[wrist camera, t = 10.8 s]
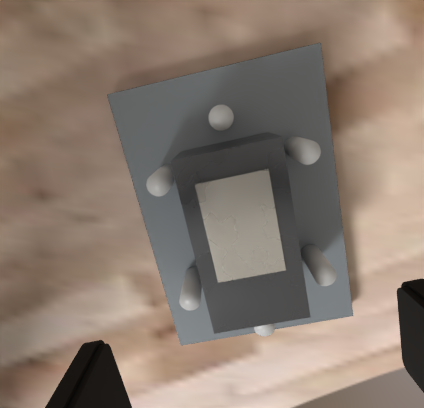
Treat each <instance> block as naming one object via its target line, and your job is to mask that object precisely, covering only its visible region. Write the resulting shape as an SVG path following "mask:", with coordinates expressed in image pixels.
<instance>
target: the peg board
mask: <svg viewBox="0 0 424 408" xmlns="http://www.w3.org/2000/svg"><path fill="white" fill-rule="evenodd" d="M107 96H108V100H109V103H110V106H111V110H112V113H113V117H114V120H115V123H116V127H117V130H118V134H119V137H120V140H121V144H122V147H123V151H124V154H125V157H126V161H127V164H128V168H129V171H130V174H131V178H132V181H133V185H134V188H135V191H136V195H137V198H138V202H139V205H140V208H141V212H142V215H143V219H144V222H145V225H146V229H147V232H148V236H149V239H150V242H151V246H152V249H153V253H154V256H155V259H156V263H157V266H158V270H159V273H160V276H161V280H162V283H163V287H164V290H165V293H166V297H167V300H168V304H169V307H170V310H171V314H172V317H173V321H174V324H175V327H176V331H177V334H178V338H179V341H180V344H181V345H187V344H193V343H199V342H204V341H210V340H216V339H222V338H227V337H233V336H239V335H245V334H251V333H257V334H258V335H260V336H268V335H270V334H272V333H273V332H274V330H275V329H280V328H285V327H291V326H297V325H303V324H309V323H314V322H320V321H326V320H332V319H338V318H343V317H349V316H353V310H352V302H351V293H350V285H349V277H348V268H347V260H346V251H345V243H344V235H343V226H342V218H341V209H340V201H339V193H338V184H337V176H336V168H335V159H334V151H333V142H332V134H331V126H330V117H329V109H328V100H327V92H326V84H325V75H324V67H323V58H322V50H321V43H317V44H313V45H309V46H305V47H300V48H296V49H292V50H288V51H284V52H280V53H276V54H272V55H268V56H264V57H259V58H255V59H251V60H247V61H243V62H239V63H235V64H231V65H227V66H222V67H218V68H214V69H210V70H206V71H202V72H198V73H194V74H190V75H186V76H181V77H177V78H173V79H169V80H165V81H161V82H157V83H153V84H149V85H144V86H140V87H136V88H132V89H128V90H124V91H120V92H116V93H112V94H108V95H107ZM266 132H270V133H273V134H276V135H279V136H282V137H283V143H284V150H285V156H286V163H287V169H288V175H289V182H290V188H291V195H292V201H293V207H294V214H295V220H296V227H297V233H298V239H299V246H300V252H301V259H302V265H303V271H304V278H305V284H306V291H307V297H308V303H309V310H310V316H311V317H309V318H303V319H298V320H292V321H286V322H280V323H274V324H268V325H263V326H257V327H251V328H245V329H239V330H233V331H227V332H222V333H216V334H214V331H213V327H212V323H211V319H210V315H209V311H208V308H207V304H206V300H205V296H204V292H203V288H202V284H201V280H200V276H199V272H198V268H197V264H196V260H195V256H194V252H193V248H192V244H191V241H190V237H189V233H188V229H187V225H186V221H185V217H184V213H183V209H182V205H181V201H180V197H179V193H178V189H177V185H176V181H175V177H174V174H173V170H172V166H171V162H170V161H171V160H172V159H173V158H174V157H175V156H176V155H178V154H179V153H180V152H181V151H184V150H189V149H193V148H198V147H202V146H207V145H211V144H216V143H220V142H225V141H230V140H234V139H239V138H243V137H248V136H252V135H257V134H261V133H266Z"/></svg>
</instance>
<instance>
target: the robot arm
mask: <svg viewBox="0 0 424 408" xmlns="http://www.w3.org/2000/svg"><path fill="white" fill-rule="evenodd" d="M397 299H398V312H399V324H400V336H401V348H402V359H403V363H404V366H405V368H406V370H407V372H408V373H409V374H410V376H411V377H412V378H413V380H414V381H415V382H416V383H417V385H418V386H419V387H420V388H421V390H422V391H423V392H424V279H417V280H412V281H407V282H403V283H402V285H401V288H398V289H397ZM45 408H132V406H131V403H130V401H129V398H128V395H127V392H126V389H125V387H124V384H123V381H122V378H121V375H120V373H119V370H118V367H117V364H116V361H115V359H114V356H113V353H112V350H111V347H110V345H109V344H105V343H104V342H103V341H102V340H99V341H93V342H88V343H84V344H83V345H82V346H81V348H80V349H79V351H78V353H77V355H76V356H75V358H74V360H73V361H72V363H71V365H70V366H69V368H68V370H67V371H66V373H65V375H64V377H63V378H62V380H61V382H60V383H59V385H58V387H57V388H56V390H55V392H54V394H53V395H52V397H51V399H50V400H49V402H48V404H47V405H46V407H45Z"/></svg>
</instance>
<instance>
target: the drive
mask: <svg viewBox="0 0 424 408" xmlns="http://www.w3.org/2000/svg"><path fill="white" fill-rule="evenodd" d="M170 162H171V166H172V170H173V174H174V177H175V181H176V185H177V189H178V193H179V197H180V201H181V205H182V209H183V213H184V217H185V221H186V225H187V229H188V233H189V237H190V241H191V244H192V248H193V252H194V256H195V260H196V264H197V268H198V272H199V276H200V280H201V284H202V288H203V292H204V296H205V300H206V304H207V308H208V311H209V315H210V319H211V323H212V327H213V331H214V334H216V333H222V332H227V331H233V330H239V329H245V328H251V327H257V326H263V325H268V324H274V323H280V322H286V321H292V320H298V319H303V318H309V317H311V316H310V310H309V303H308V297H307V291H306V284H305V278H304V271H303V265H302V259H301V252H300V246H299V239H298V233H297V227H296V220H295V214H294V207H293V201H292V195H291V188H290V182H289V175H288V169H287V163H286V156H285V150H284V143H283V137H282V136H279V135H276V134H273V133H270V132H266V133H261V134H257V135H252V136H248V137H243V138H239V139H234V140H230V141H225V142H220V143H216V144H211V145H207V146H202V147H198V148H193V149H189V150H184V151H181V152H180V153H179V154H178V155H176V156H175V157H174V158H173V159H172V160H171V161H170Z"/></svg>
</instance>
